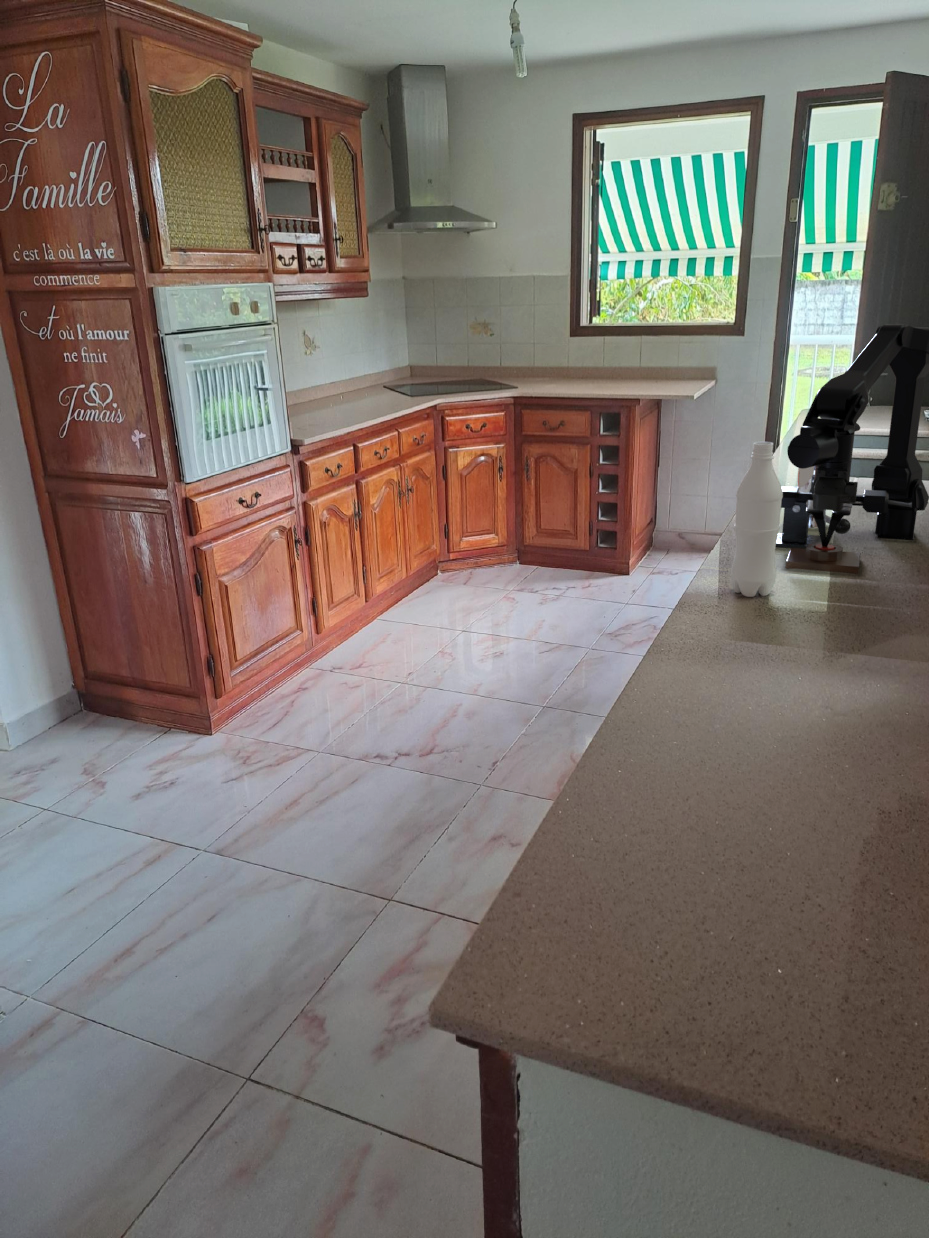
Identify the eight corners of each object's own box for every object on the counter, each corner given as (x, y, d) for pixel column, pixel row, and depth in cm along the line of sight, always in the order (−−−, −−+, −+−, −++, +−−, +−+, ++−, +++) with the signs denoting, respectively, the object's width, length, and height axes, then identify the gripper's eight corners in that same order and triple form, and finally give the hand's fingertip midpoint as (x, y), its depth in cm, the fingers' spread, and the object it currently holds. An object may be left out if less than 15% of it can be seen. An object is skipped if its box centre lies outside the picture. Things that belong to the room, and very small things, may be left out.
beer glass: (823, 522, 187) (830, 451, 182) (832, 530, 181) (840, 458, 176) (789, 522, 188) (795, 452, 183) (797, 531, 182) (804, 458, 176)
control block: (859, 561, 161) (861, 543, 160) (858, 576, 153) (860, 556, 152) (790, 556, 166) (791, 538, 165) (785, 570, 158) (787, 551, 157)
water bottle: (776, 600, 144) (790, 447, 135) (731, 598, 145) (741, 447, 137) (771, 586, 150) (784, 439, 142) (728, 585, 152) (737, 439, 143)
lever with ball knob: (845, 534, 169) (853, 521, 168) (844, 538, 167) (853, 524, 165) (787, 506, 172) (795, 493, 171) (786, 510, 170) (794, 496, 168)
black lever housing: (825, 541, 174) (830, 492, 170) (822, 552, 167) (828, 502, 164) (767, 537, 178) (771, 490, 175) (762, 548, 171) (766, 499, 168)
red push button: (833, 553, 160) (834, 544, 159) (832, 558, 157) (833, 549, 156) (815, 552, 161) (815, 543, 160) (813, 557, 158) (814, 547, 158)
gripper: (772, 466, 150) (765, 554, 155) (893, 470, 142) (881, 563, 148) (779, 454, 159) (772, 538, 165) (893, 458, 152) (881, 545, 157)
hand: (824, 546), depth 158 cm, fingers closed, pressing on red push button
